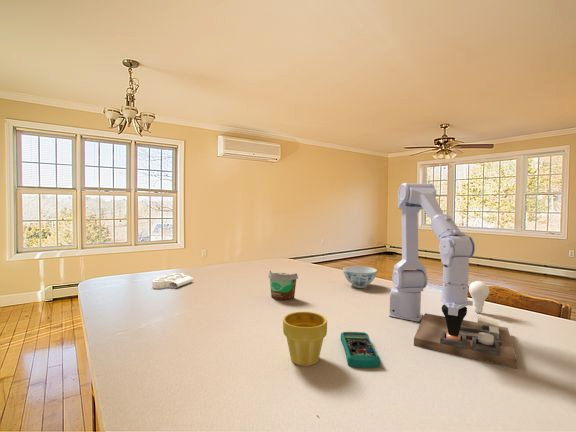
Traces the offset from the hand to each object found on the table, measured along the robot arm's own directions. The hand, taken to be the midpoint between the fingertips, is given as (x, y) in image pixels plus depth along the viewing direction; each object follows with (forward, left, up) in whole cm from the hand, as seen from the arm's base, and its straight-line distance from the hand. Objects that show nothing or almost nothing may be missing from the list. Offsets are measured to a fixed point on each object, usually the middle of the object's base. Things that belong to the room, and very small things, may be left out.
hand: (453, 335), depth 80 cm
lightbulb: (+6, +36, -4) cm, 37 cm away
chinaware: (-40, +48, -4) cm, 63 cm away
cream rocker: (+8, +15, 0) cm, 17 cm away
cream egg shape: (+7, 0, 0) cm, 7 cm away
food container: (-60, +12, -4) cm, 61 cm away
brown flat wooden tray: (+2, +8, -4) cm, 9 cm away
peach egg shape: (0, 0, -2) cm, 2 cm away
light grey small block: (+9, +7, -2) cm, 12 cm away
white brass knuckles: (-113, +4, -4) cm, 113 cm away
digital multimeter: (-20, -15, -4) cm, 25 cm away
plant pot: (-30, -25, -4) cm, 39 cm away
